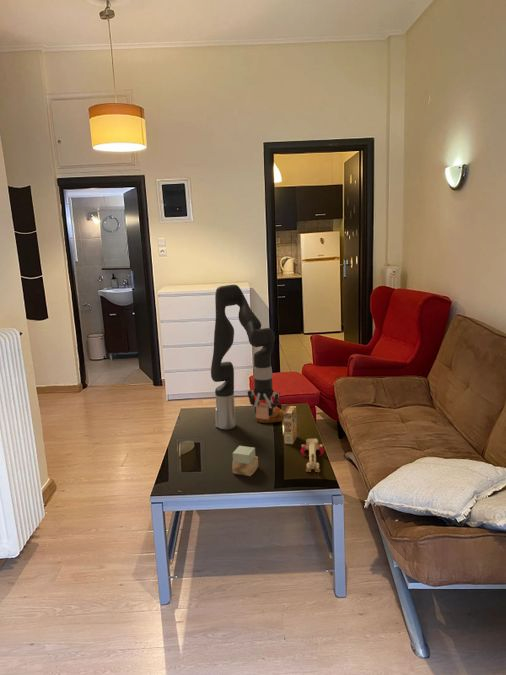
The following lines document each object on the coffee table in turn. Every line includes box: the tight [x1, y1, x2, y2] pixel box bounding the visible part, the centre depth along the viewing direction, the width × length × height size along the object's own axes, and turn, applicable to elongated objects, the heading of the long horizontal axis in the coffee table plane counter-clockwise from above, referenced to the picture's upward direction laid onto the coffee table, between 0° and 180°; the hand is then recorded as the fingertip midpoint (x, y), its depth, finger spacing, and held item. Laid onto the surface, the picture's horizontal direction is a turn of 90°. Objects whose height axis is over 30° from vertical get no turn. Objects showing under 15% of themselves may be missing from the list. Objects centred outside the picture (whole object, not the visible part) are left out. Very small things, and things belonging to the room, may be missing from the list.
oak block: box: [231, 455, 259, 477], centre depth 202 cm, size 8×8×5 cm
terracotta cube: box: [255, 402, 270, 419], centre depth 206 cm, size 5×5×5 cm
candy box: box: [283, 405, 298, 445], centre depth 227 cm, size 9×4×15 cm, turn 162°
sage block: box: [232, 445, 256, 464], centre depth 201 cm, size 7×7×4 cm
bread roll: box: [254, 406, 285, 424], centre depth 255 cm, size 14×16×8 cm
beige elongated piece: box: [300, 438, 325, 474], centre depth 209 cm, size 10×9×25 cm
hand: (264, 414), depth 206 cm, fingers closed on terracotta cube, 5 cm apart
